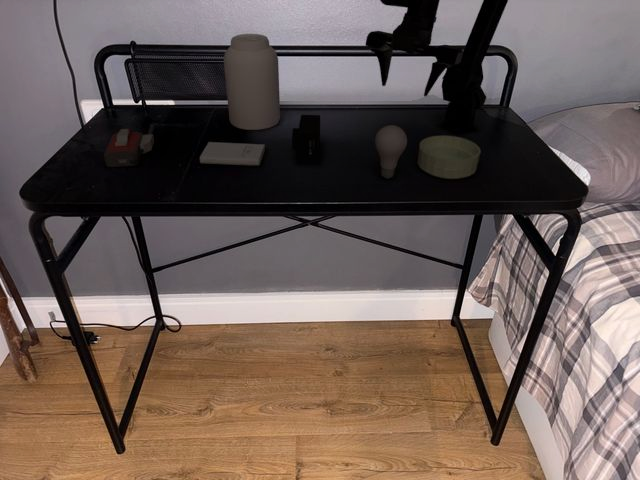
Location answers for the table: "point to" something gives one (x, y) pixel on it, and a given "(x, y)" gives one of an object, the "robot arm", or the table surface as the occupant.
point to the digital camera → (307, 139)
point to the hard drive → (232, 154)
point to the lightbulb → (390, 148)
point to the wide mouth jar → (252, 82)
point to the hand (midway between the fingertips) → (404, 90)
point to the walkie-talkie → (128, 147)
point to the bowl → (448, 156)
